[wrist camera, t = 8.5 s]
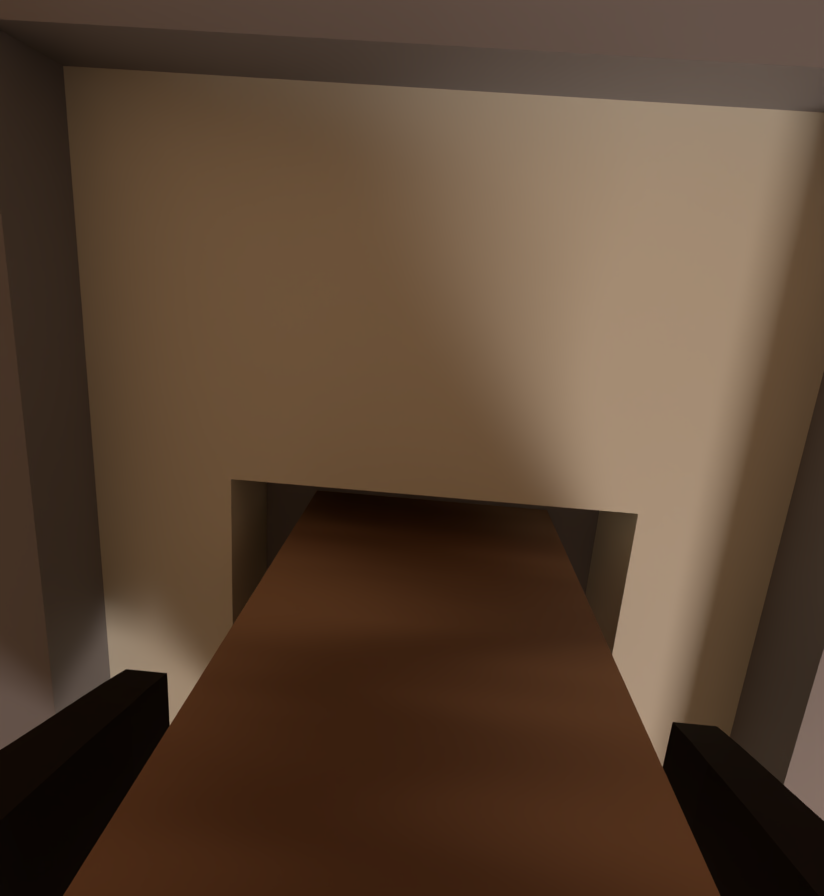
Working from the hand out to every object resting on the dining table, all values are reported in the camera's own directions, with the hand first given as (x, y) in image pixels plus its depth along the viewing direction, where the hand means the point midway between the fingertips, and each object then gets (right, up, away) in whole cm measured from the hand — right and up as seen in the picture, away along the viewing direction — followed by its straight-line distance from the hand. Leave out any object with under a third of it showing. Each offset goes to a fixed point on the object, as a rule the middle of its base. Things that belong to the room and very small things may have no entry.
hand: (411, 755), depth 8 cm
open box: (0, +1, +4) cm, 4 cm away
